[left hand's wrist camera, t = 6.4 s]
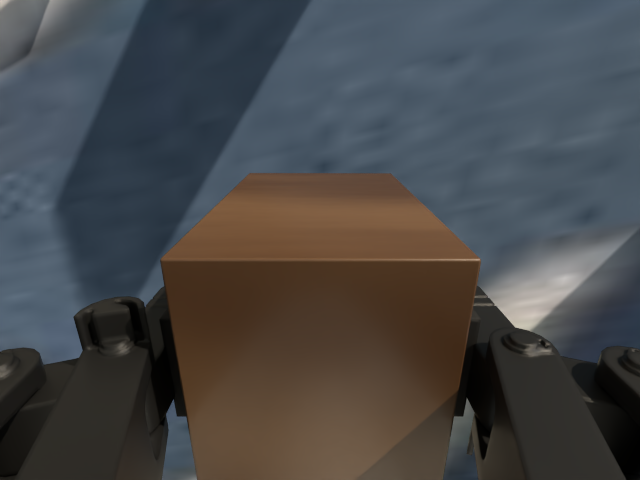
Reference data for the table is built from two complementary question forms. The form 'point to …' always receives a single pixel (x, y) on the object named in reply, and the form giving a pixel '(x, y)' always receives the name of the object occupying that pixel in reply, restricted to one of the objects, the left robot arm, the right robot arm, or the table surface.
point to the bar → (320, 330)
